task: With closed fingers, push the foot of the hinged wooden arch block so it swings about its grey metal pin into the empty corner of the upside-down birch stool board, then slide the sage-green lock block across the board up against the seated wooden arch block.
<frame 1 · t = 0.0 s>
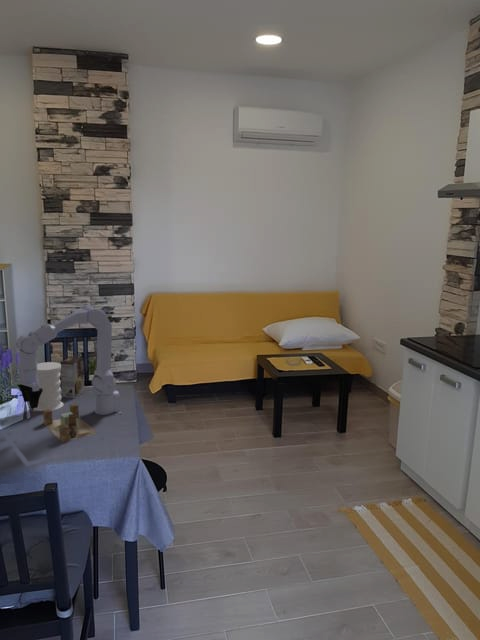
hand: (30, 404, 179), 10 cm above the table, fingers open, 7 cm apart
lock block: (68, 424, 184), point 1 cm above the table, touching stool board
decorative container: (48, 408, 202), on the table
coffee box: (73, 395, 219), on the table
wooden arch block: (72, 424, 178), point 4 cm above the table, hinge at 70.0°
stool board: (69, 430, 182), on the table
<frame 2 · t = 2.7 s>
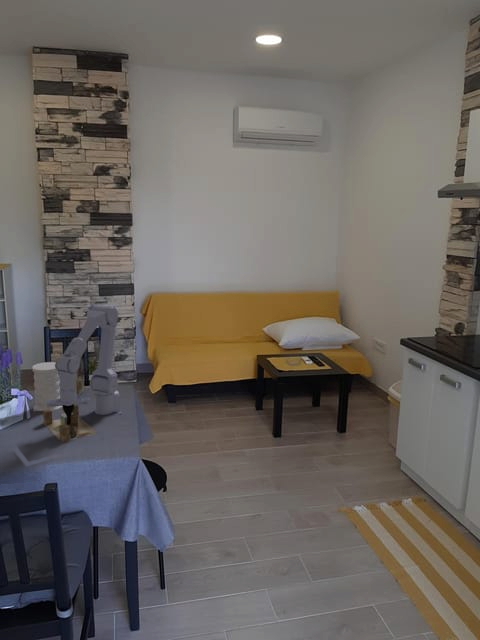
hand: (69, 423, 180), 3 cm above the table, fingers closed, pressing on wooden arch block
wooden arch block: (73, 424, 178), point 4 cm above the table, hinge at 64.8°, touching gripper
everything else where it was.
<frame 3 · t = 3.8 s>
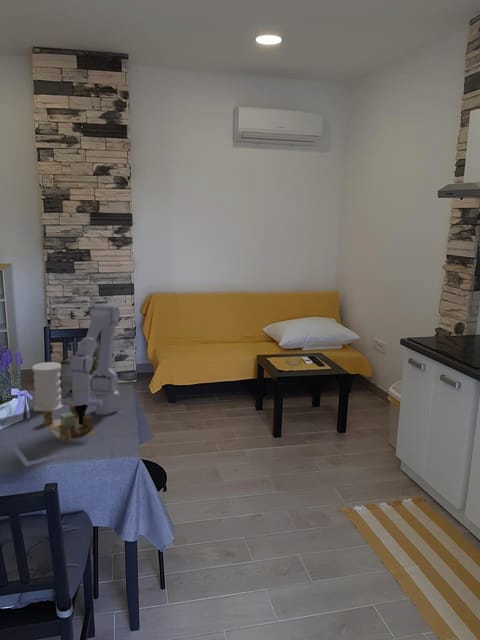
hand: (82, 423, 180), 3 cm above the table, fingers closed, pressing on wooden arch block
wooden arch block: (82, 425, 177), point 4 cm above the table, hinge at 21.9°, touching gripper
everything else where it was.
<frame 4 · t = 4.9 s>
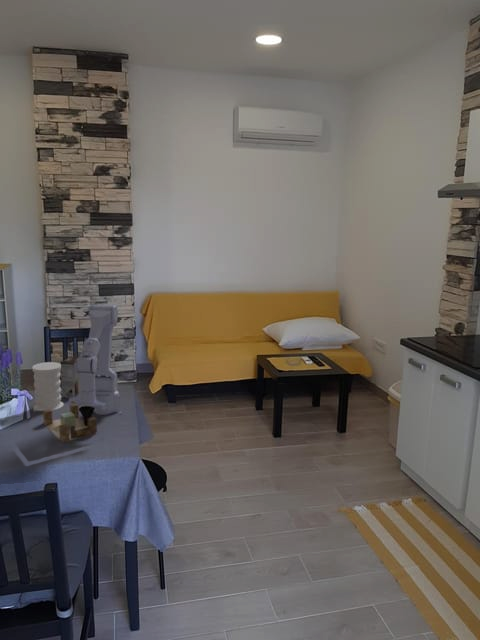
hand: (87, 425, 180), 3 cm above the table, fingers closed
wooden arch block: (85, 426, 176), point 4 cm above the table, hinge at -0.2°, touching gripper
everything else where it was.
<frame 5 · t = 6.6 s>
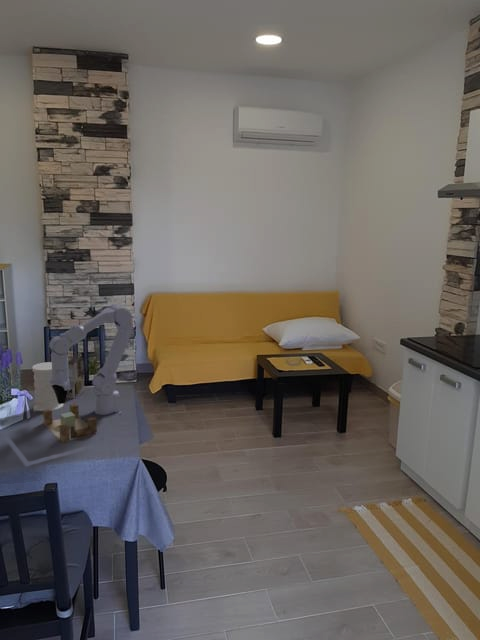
hand: (61, 403, 188), 8 cm above the table, fingers closed
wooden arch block: (85, 426, 176), point 4 cm above the table, hinge at -0.2°
everything else where it was.
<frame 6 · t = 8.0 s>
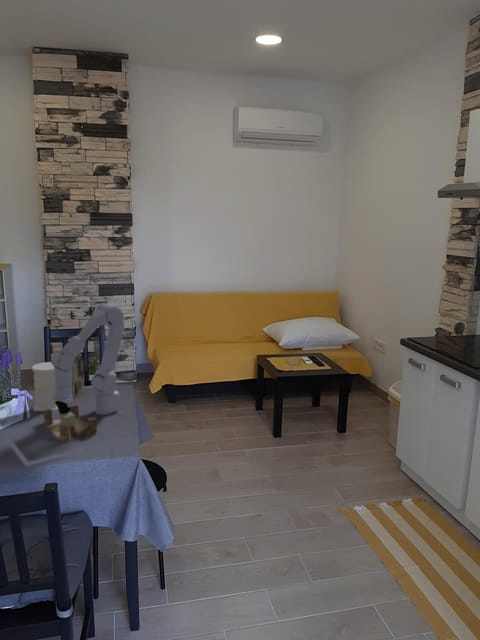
hand: (64, 419, 187), 2 cm above the table, fingers closed
lock block: (68, 424, 184), point 1 cm above the table, touching gripper, stool board
everything else where it was.
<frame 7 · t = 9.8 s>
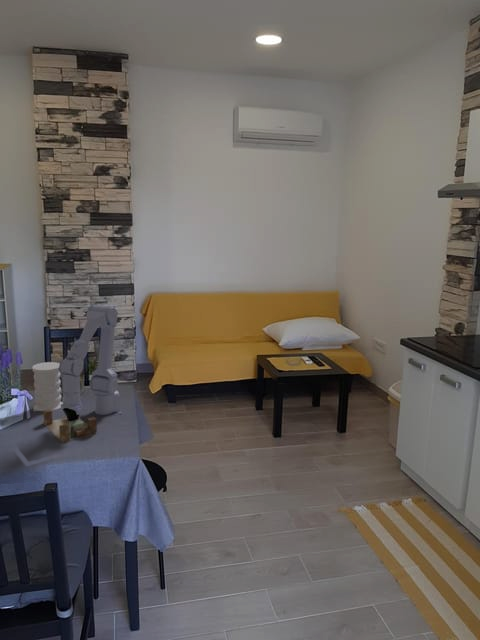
hand: (73, 426, 180), 2 cm above the table, fingers closed
lock block: (76, 432, 178), point 1 cm above the table, touching gripper, stool board
everything else where it was.
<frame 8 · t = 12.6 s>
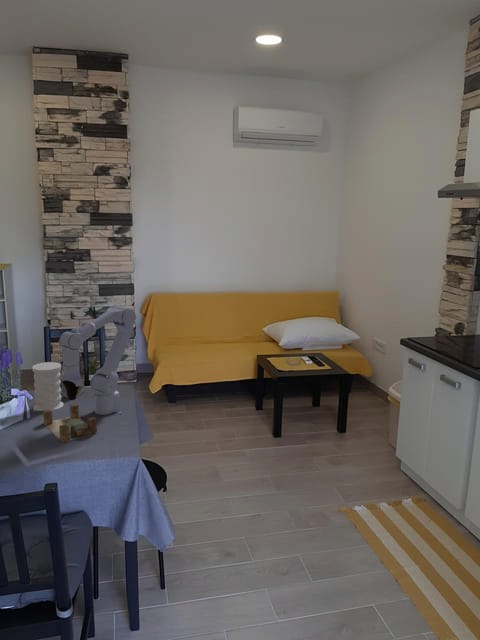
hand: (72, 399, 185), 10 cm above the table, fingers closed
lock block: (76, 432, 178), point 1 cm above the table, touching stool board
everything else where it was.
at the end: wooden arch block at +0° (first picture: +70°); lock block 0.2 cm from the target spot, point 1.2 cm above the table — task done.
